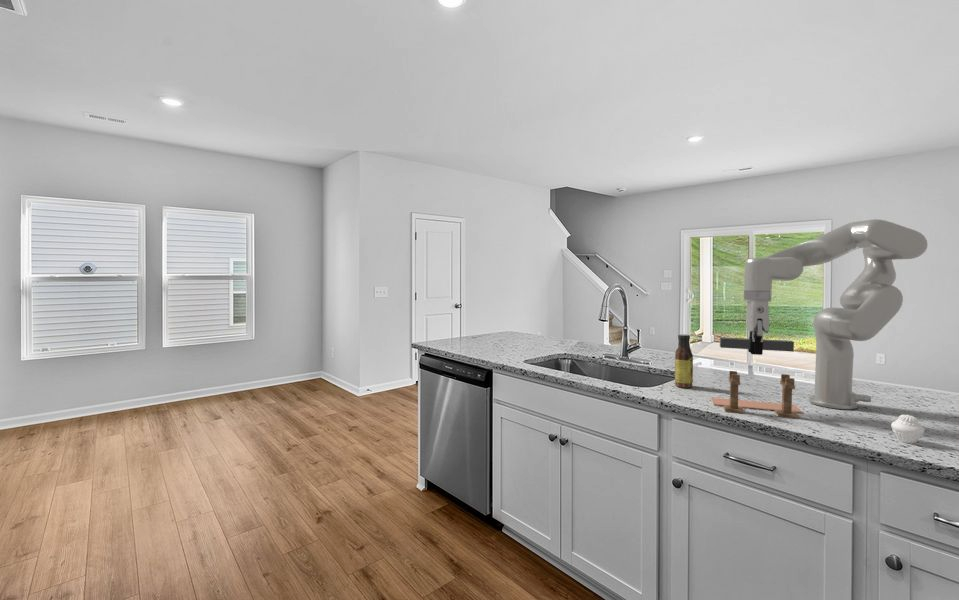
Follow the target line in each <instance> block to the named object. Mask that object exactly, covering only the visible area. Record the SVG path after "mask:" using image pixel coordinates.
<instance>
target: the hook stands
mask: <svg viewBox="0 0 959 600" xmlns="http://www.w3.org/2000/svg"><path fill="white" fill-rule="evenodd" d="M728 375H729V376H728V381H729V399H730V406H729V405H724V406H723V410H724V412H725V413H726V412H727V413H733V412H734V414H735V413H736V414H745V409H744V408H742V407H740V406H738V400H739V386H741V381H740V380H741V378H740V377H741V375H740V374H738V371H737V370H729V374H728ZM780 375H781V376H780V381H779V383H780V385H781V386H782V389H781V390H782V398H781V404H782V410H775V411H774V413H775V414H777V415H778V416H777V415H776V416H777V417H778V418H785V417H788V418H787V419H796V418H797V419H799V414H798V413H795V411H791V410H792V405H793V401H792V400H793V390H796V385H795V381H796V380H795V378H791V375H790V374H787V373H784V374H783V373H782V374H780Z"/></svg>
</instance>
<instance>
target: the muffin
mask: <svg viewBox="0 0 959 600" xmlns="http://www.w3.org/2000/svg"><path fill="white" fill-rule="evenodd" d="M918 421H919V420H918V418H917V417H915V416H913V415H909V414H901V415H899V416H898V418H897V419H896V420H895V421H893V422H891V423H890V427H891V429H892V432H893V433H894V435H895V437H896V439H897V441H899V442H901V441H902V442H901V443H904V442H905V443H906V444H912V443H914V444H916V443H917V442H918V441H919V440H920V439H921V438H922V437H923V435H924V433H925V428H924V427H923V426H922V425H921V423H920V422H918ZM912 445H913V444H912Z"/></svg>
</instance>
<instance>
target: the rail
mask: <svg viewBox="0 0 959 600" xmlns="http://www.w3.org/2000/svg"><path fill="white" fill-rule="evenodd" d="M751 342H752V339H749V338H744V337H741V338H739V337H721V336H720V337H719V347H720V348H721V349H739V350H740V349H741V350H748V349H751ZM794 345H795V342H794V341H793V340H783V339H782V340H781V339H765V338H763V351H774V352H790V353H791V352H794V351H795V349H794V348H795V347H794Z"/></svg>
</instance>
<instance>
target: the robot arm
mask: <svg viewBox="0 0 959 600" xmlns="http://www.w3.org/2000/svg"><path fill="white" fill-rule="evenodd" d="M859 249H862V254H863V259H864V268H863V270H862V271H861V273H859V275H858V276H857V277H856V278H855V279H854V280H853V281H852V282H851V283H850V284H849V286H847V287H846V289H845V290H844V291H843V293H841V295H840V298H839V304H840V305H841V307H825V308H823V309H821V310H819V311H818V312H816V314H815V315H814V317H813V330H814V334H815V342H816V343H815V347H816V348H815V350H816V351H815V367H814V369H815V371H814V372H815V373H814V377H815V378H814V394H813V395H810V396H808V402H809V403H811V404H814V405H816V406H820V407H825V408H830V409H837V410H855V409H857V408H858V406H859V405H858V403H859V402H863V403H872V397H871V396H870V395H863V394H860V393H859V394H857V393H855V392H853V370H854V356H855V354H854V347H853V345H852V342H851V341H856V342H866V341H868V340H871V339H873V338H874V337H875V336H877V334H878V333H880V332H881V330H883V329H884V327H885V326H887V324H888V323H890V322H891V320H892V319H893V318H894V317H895V316H896V315H897V313H899V311H900V309H901V307H902V305H903V302H904V298H903V297H904V296H903V294H902V291H901V290H900V289H899V288H898V287H897V286H895V285H894V284H895V281H896V280H897V279H896V278H897V273H896V269H895V266H894V263H893V260H911V259H916V258H919V257H920V256H922V255H923V254H924V253H926V250H927V249H928V240H927V238H926V236H925V235H924V234H922V232H919V231H917V230H915V229H912V228H910V227H906V226H903V225H900V224H898V223H895V222H892V221H888V220H884V219H876V218H875V219H867V220H860V221H853V222H848V223H846V224H843V225H840V226H839V227H837V228H834V229H832V230H830V231H828V232H826V233H824V234H822V235H820V236H818V237H815V238H813V239H810V240H806V241H804V242H802V243H798V244H796V245H793V246H790V247H786V248H784V249H782V250H778V251H777V252H774V253H772V254H770V255H768V256H765V257H751V258H747V259H746V260H745V262H744V275H743V276H744V277H743V278H744V279H743V302H747V303H746V317H745V318H746V319H745V320H746V323H745V326H746V330H748V331H749V332H748V334H749V335H748V339H752V342H751V349H747V350H748V352H749V353H750V354H751V355H755V356H756V355H758V356H762V355H763V354H764V353H763V352H764V350H763V339H764V333H766V334H768V333H769V332H770V307H769V306H770V305H769V302H772V291H773V290H772V289H773V287H772V286H773V281H778V282H779V281H780V282H784V281H785V282H789V281H793V280H796V279H798V278H799V277H800V276H802V274H803V272H804V267H810V266H811V267H812V266H818V265H822V264H826V263H830V262H832V261H834V260H836V259H838V258H840V257H842V256H844V255H846V254H849V253H851V252H853V251H856V250H859Z"/></svg>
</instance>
